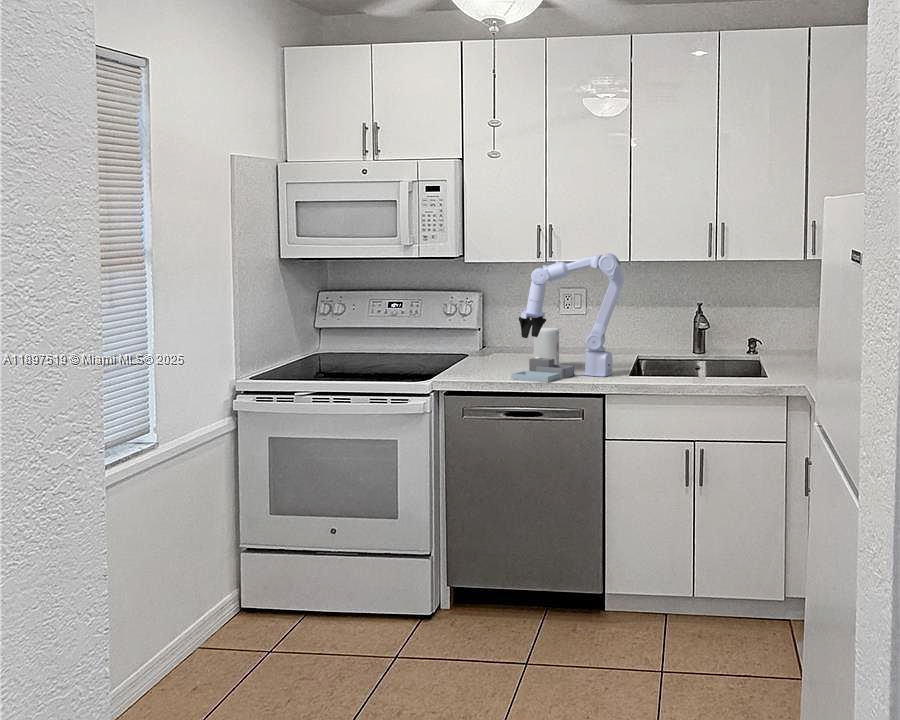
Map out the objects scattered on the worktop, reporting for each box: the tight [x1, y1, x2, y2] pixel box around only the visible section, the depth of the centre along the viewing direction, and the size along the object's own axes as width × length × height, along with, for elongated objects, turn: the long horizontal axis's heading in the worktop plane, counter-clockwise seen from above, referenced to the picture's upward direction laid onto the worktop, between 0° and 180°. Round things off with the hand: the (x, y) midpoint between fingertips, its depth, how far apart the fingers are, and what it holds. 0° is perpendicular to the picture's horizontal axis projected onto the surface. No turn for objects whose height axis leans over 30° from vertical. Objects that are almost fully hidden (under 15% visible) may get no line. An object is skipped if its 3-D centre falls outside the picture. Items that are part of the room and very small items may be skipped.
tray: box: [510, 370, 561, 383], centre depth 409 cm, size 15×9×2 cm, turn 57°
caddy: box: [528, 357, 555, 372], centre depth 419 cm, size 8×4×7 cm, turn 58°
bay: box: [536, 364, 575, 379], centre depth 417 cm, size 11×8×4 cm
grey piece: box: [533, 327, 560, 365], centre depth 437 cm, size 9×9×15 cm
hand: (529, 337), depth 422 cm, fingers open, 7 cm apart
